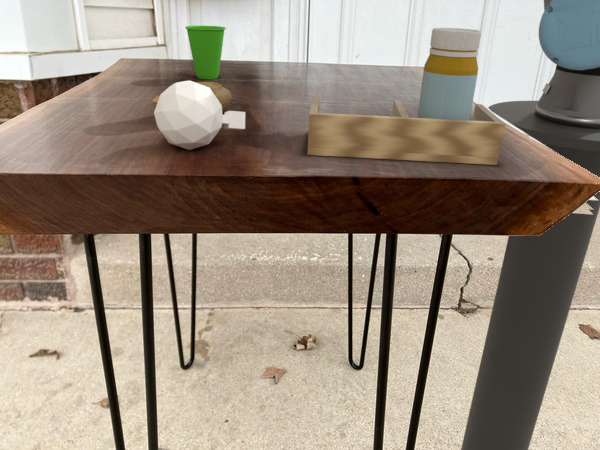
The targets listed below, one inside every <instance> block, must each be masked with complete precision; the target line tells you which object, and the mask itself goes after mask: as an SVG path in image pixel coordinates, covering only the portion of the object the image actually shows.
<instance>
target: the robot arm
mask: <svg viewBox="0 0 600 450" xmlns="http://www.w3.org/2000/svg"><path fill="white" fill-rule="evenodd" d="M538 40H539V45H540V48H541V50H542V52H543V53H544V55H545V56H546V57H547V58H548V59H549V60H550V61H551V62H552V63H553V64H555V65H556V66H555V70H554V73H553V75H552V77H551V79H550V80H549V82H546V83H545V85H544V87H543V89H542V91H541V92H542V94H541V96H540V97H539V99H538V100H537V101H538V103H537V105H536V110H535V115H536V116H537V117H539V118H541V119H543V120H546V121H549V122H553V123H557V124H562V125H567V126H573V127H580V128H590V129H600V0H543V13H542V15H541V18H540V20H539V25H538Z"/></svg>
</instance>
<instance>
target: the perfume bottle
mask: <svg viewBox="0 0 600 450" xmlns="http://www.w3.org/2000/svg"><path fill="white" fill-rule="evenodd" d="M159 96H160V97H159V100H158V103H157V105H156V108H154V112H153V114H154V120H155V123H156V126H157V128H158V130H159V131H160V133H161V134H162V136H163V137H164V138H165V139H166V141H167V142H168V144H171V145H174V146H177V147H179V148H182V149H184V150H188V151H191V150H194V149H197V148H200V147H204V146H207V145H210V143H211V142H212V141H213V140H214V138H215V137H216V136H217V134H218V133H219V132H220V130H221V128H222V126H223V129H224V130H230V131H231V130H233V131H242V130H243V131H244V130H246V111H239V110H238V111H237V110H227V111H224V114H223V109H222V105H221V103H220V102H219V101H218V99H217V98H216V96H215V95H214V93H213V92H212V90H211V89H210V88H209V87H207V86H204V85H201V84H198V83H197V82H195V81H192V80H190V79H189V80H183V81H179V82H178V81H177V82H175V83H173V84H171V85H170V86H168V87H167V88H166V89H165V90H164V91H162V93H160V95H159Z"/></svg>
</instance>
